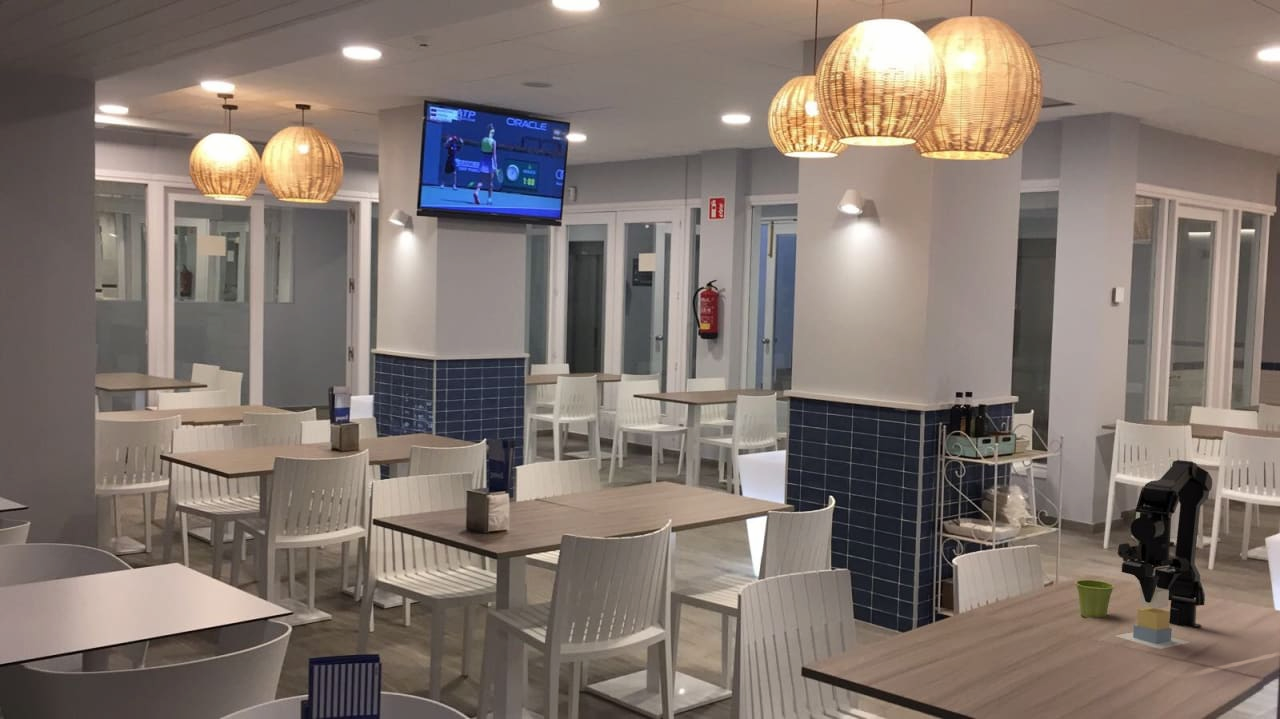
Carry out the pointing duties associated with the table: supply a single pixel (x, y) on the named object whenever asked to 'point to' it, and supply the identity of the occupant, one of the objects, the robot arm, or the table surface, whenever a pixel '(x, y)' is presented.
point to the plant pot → (1094, 597)
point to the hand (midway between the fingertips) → (1153, 601)
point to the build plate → (1160, 645)
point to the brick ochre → (1153, 618)
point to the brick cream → (1156, 598)
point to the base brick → (1152, 634)
